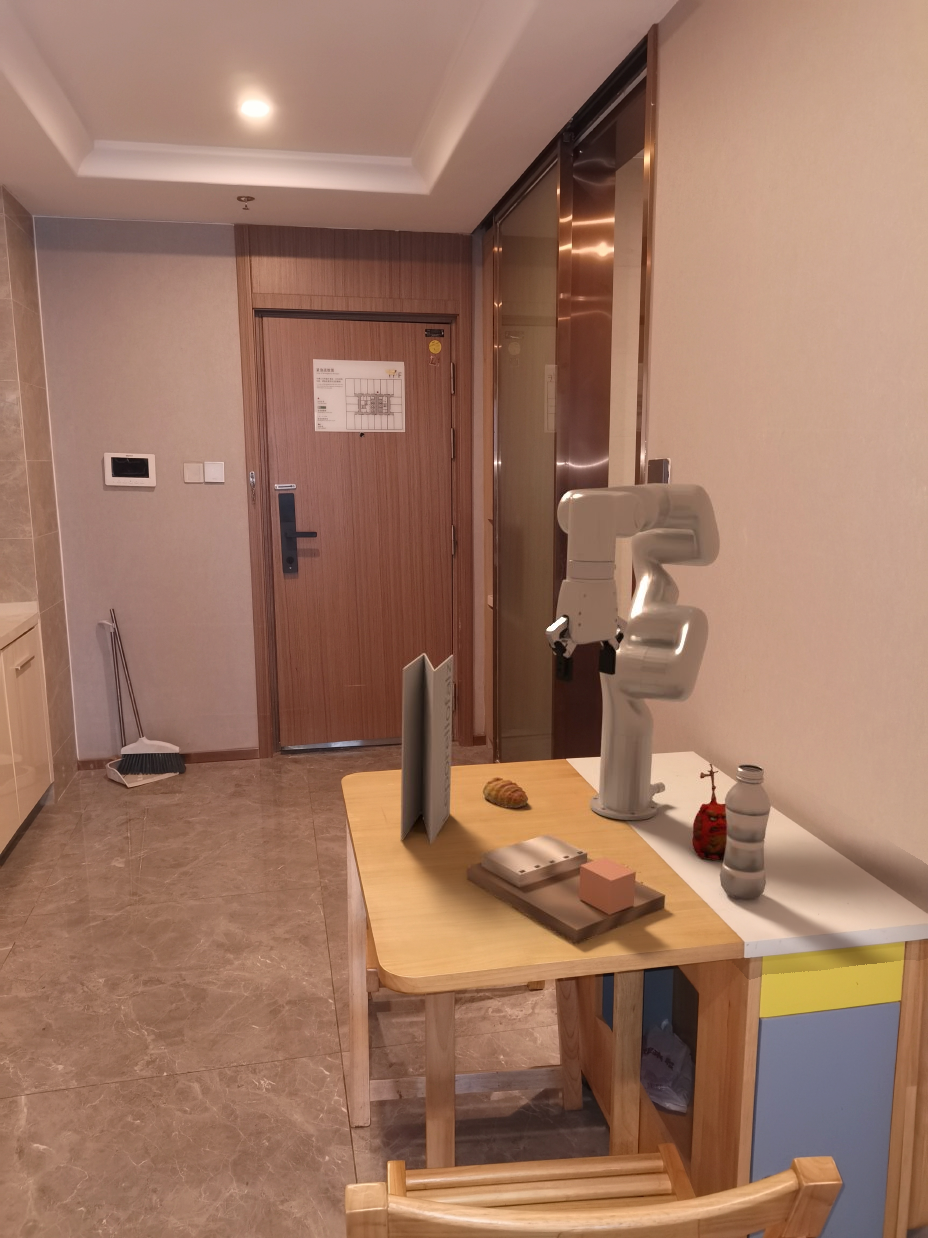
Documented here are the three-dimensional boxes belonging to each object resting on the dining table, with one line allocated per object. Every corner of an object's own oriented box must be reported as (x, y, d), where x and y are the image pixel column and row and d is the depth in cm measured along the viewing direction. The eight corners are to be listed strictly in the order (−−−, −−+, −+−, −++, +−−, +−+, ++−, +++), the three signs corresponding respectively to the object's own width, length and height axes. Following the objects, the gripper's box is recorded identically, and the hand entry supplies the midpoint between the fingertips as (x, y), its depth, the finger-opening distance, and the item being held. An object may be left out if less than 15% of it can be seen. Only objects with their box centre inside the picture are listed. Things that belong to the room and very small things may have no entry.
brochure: (431, 843, 153) (435, 671, 148) (400, 840, 154) (402, 668, 149) (449, 813, 167) (453, 654, 162) (421, 811, 168) (423, 653, 163)
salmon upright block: (603, 889, 132) (604, 857, 132) (633, 905, 128) (635, 871, 127) (578, 898, 129) (580, 865, 129) (609, 914, 125) (611, 880, 124)
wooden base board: (552, 852, 150) (553, 829, 150) (664, 908, 132) (665, 881, 131) (467, 879, 140) (467, 854, 139) (576, 944, 121) (577, 915, 120)
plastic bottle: (758, 909, 132) (769, 778, 129) (712, 897, 136) (721, 769, 132) (769, 892, 137) (779, 766, 134) (725, 881, 141) (734, 758, 138)
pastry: (536, 805, 173) (537, 786, 172) (510, 813, 168) (510, 793, 168) (504, 791, 180) (504, 773, 179) (478, 798, 176) (478, 780, 175)
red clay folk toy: (700, 864, 147) (706, 776, 145) (683, 846, 154) (688, 762, 152) (744, 862, 148) (750, 774, 146) (725, 845, 155) (731, 761, 153)
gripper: (610, 566, 151) (606, 666, 153) (533, 571, 140) (530, 679, 143) (645, 571, 145) (639, 675, 148) (567, 576, 134) (563, 688, 137)
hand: (585, 676), depth 145 cm, fingers open, 9 cm apart
